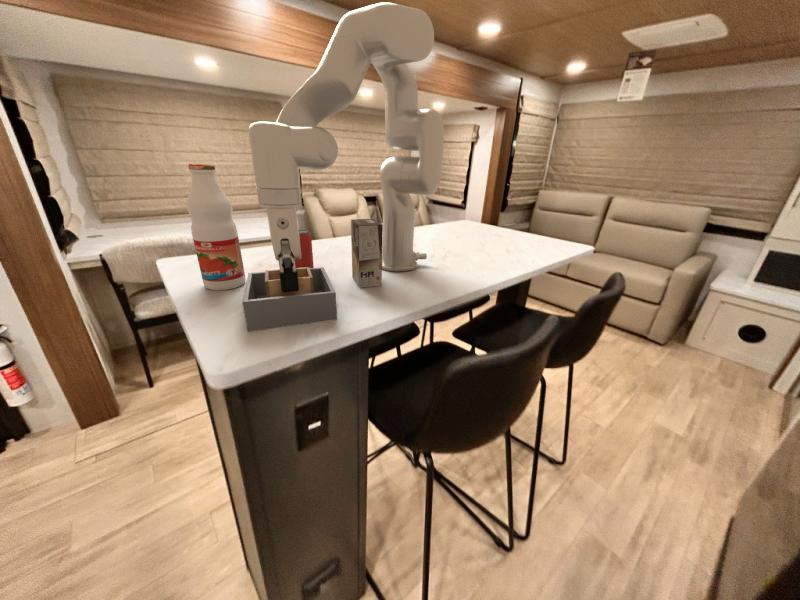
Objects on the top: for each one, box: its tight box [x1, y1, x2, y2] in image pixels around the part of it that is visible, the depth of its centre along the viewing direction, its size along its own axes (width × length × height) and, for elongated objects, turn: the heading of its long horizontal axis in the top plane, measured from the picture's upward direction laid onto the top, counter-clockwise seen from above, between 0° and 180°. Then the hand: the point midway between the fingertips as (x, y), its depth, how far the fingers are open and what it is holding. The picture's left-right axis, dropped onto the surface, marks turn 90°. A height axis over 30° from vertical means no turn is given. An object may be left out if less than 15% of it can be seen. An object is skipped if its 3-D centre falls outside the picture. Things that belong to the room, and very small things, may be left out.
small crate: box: [264, 267, 314, 298], centre depth 66 cm, size 9×7×7 cm
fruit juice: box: [185, 163, 246, 291], centre depth 73 cm, size 9×9×28 cm
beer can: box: [294, 228, 315, 268], centre depth 86 cm, size 7×7×12 cm
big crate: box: [242, 267, 338, 332], centre depth 66 cm, size 17×17×6 cm
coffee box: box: [350, 218, 383, 289], centre depth 81 cm, size 9×6×16 cm
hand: (289, 282), depth 65 cm, fingers open, 9 cm apart
